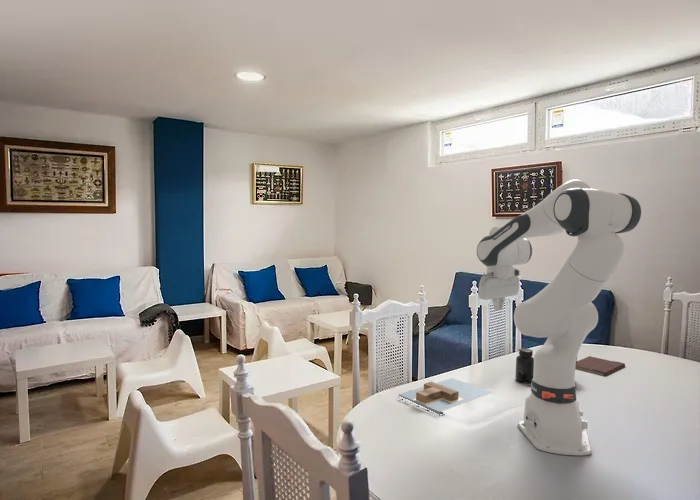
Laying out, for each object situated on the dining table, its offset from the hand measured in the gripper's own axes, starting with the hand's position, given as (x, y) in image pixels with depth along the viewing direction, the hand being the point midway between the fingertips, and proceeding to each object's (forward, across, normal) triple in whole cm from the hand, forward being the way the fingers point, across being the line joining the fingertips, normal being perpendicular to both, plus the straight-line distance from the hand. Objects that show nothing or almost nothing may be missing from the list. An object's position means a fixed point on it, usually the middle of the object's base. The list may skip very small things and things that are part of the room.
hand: (498, 309), depth 169 cm
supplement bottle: (+29, +16, -2) cm, 34 cm away
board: (+29, -22, +5) cm, 37 cm away
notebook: (+30, +57, -11) cm, 65 cm away
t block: (+28, -28, +5) cm, 40 cm away
